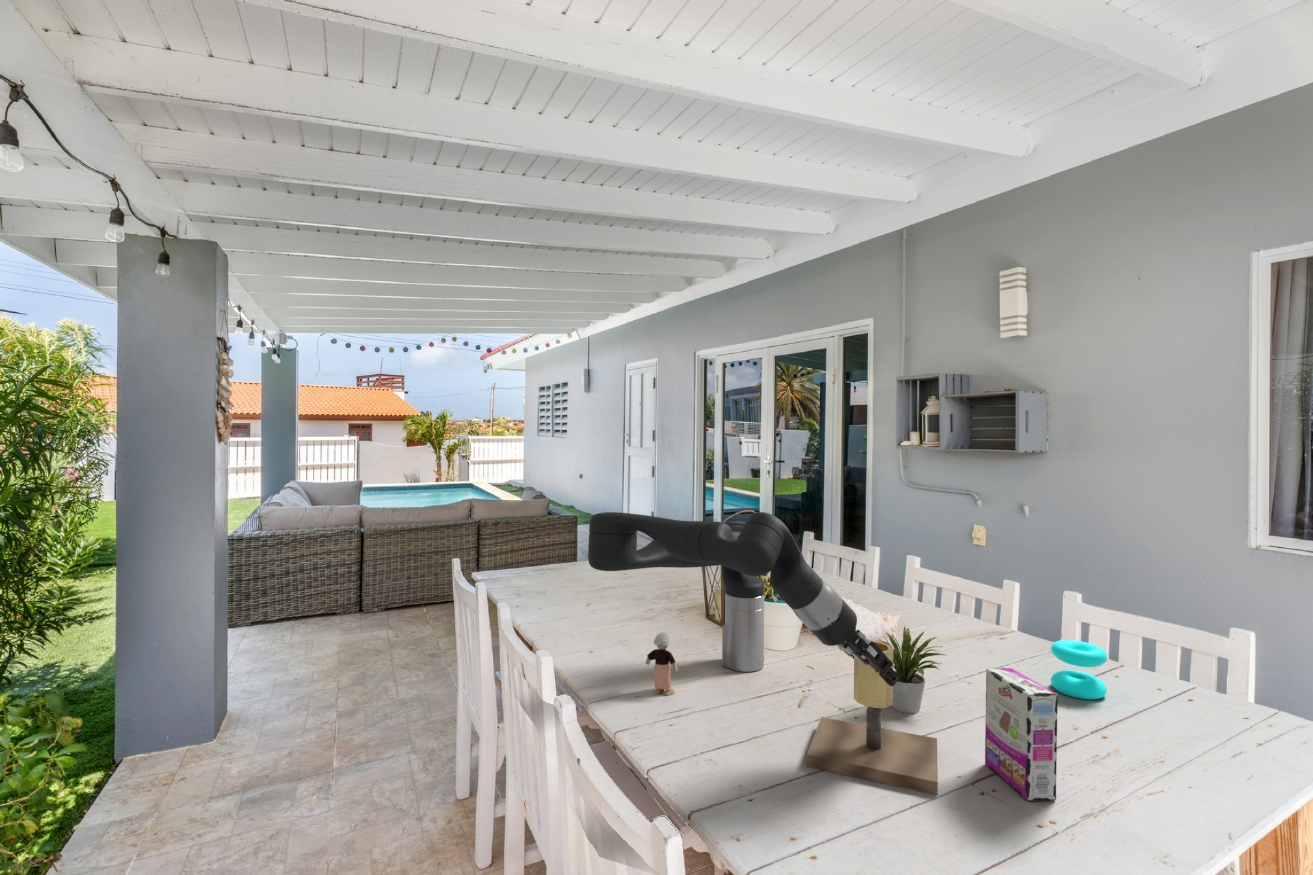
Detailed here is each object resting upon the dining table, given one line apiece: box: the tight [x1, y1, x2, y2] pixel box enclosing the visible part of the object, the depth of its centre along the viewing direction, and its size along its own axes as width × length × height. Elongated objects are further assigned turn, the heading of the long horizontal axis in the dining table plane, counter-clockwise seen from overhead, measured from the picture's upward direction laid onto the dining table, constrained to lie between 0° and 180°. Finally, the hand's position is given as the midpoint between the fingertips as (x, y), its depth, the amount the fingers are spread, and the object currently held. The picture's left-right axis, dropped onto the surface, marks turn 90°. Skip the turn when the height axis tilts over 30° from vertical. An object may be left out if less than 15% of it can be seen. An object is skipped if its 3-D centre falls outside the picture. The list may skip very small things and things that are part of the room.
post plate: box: [806, 706, 939, 796], centre depth 108 cm, size 20×15×9 cm
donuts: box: [1050, 639, 1108, 700], centre depth 135 cm, size 10×10×10 cm
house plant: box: [875, 626, 946, 714], centre depth 126 cm, size 14×14×16 cm
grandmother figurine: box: [645, 632, 678, 696], centre depth 135 cm, size 8×4×13 cm, turn 71°
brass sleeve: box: [853, 639, 894, 709], centre depth 108 cm, size 6×6×9 cm
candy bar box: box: [984, 667, 1059, 802], centre depth 101 cm, size 11×5×16 cm, turn 5°
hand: (881, 673), depth 108 cm, fingers closed on brass sleeve, 6 cm apart
